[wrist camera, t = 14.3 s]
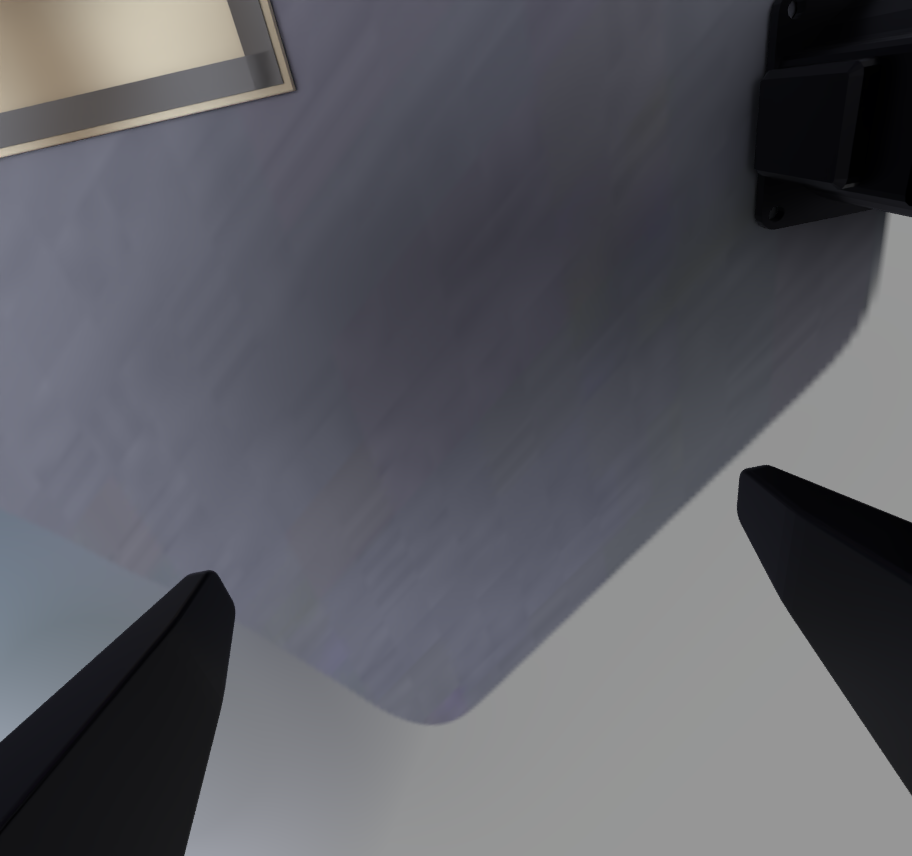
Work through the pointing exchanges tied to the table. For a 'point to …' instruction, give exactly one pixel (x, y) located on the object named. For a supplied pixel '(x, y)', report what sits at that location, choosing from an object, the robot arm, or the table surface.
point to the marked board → (129, 64)
